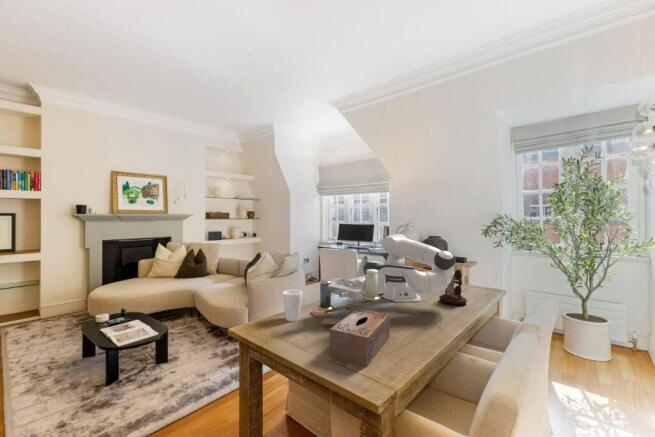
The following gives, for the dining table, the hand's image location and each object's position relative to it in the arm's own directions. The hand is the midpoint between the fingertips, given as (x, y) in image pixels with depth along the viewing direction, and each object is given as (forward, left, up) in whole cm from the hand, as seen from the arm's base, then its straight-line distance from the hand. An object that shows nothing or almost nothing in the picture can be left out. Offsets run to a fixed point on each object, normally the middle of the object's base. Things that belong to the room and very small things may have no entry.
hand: (332, 293), depth 134 cm
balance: (-7, +2, -14) cm, 16 cm away
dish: (+7, -12, -14) cm, 19 cm away
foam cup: (+20, -2, -14) cm, 24 cm away
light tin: (-18, +2, 0) cm, 18 cm away
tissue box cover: (-13, +22, -14) cm, 30 cm away
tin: (+3, +2, -6) cm, 7 cm away
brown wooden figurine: (-67, -41, -14) cm, 80 cm away
